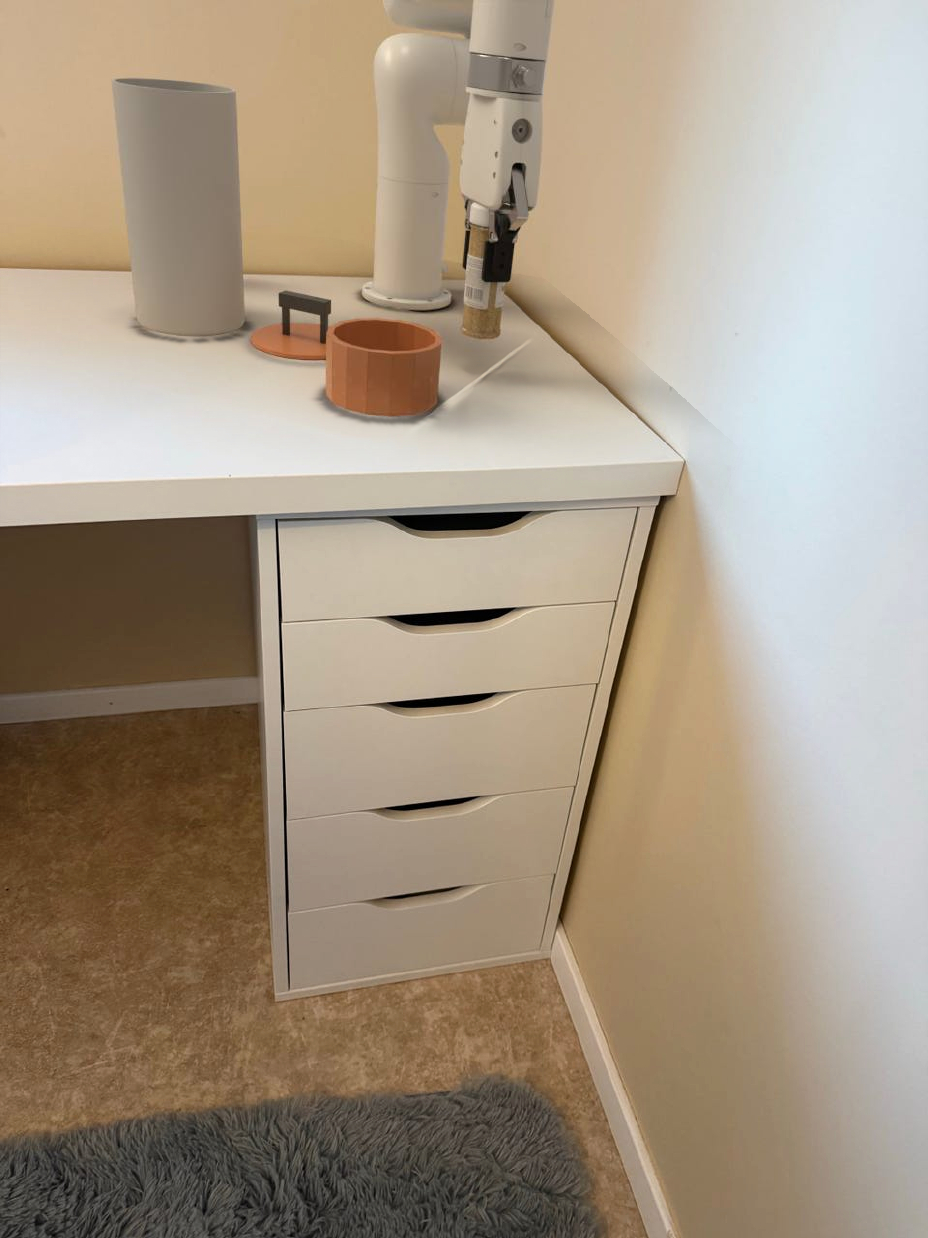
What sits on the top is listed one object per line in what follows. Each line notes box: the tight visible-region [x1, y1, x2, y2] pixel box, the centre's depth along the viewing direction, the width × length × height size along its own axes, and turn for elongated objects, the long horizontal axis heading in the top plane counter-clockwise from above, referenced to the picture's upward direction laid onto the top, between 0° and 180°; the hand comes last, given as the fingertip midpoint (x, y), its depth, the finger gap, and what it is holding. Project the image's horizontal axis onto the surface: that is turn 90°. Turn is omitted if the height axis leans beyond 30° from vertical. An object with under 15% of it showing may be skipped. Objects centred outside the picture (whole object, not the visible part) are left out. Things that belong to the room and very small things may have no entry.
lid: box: [250, 290, 332, 361], centre depth 104 cm, size 12×12×6 cm
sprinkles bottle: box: [460, 202, 510, 340], centre depth 97 cm, size 5×5×13 cm
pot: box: [325, 317, 443, 417], centre depth 92 cm, size 11×11×7 cm
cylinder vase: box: [111, 77, 246, 337], centre depth 102 cm, size 12×12×25 cm
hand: (486, 273), depth 97 cm, fingers closed on sprinkles bottle, 4 cm apart
